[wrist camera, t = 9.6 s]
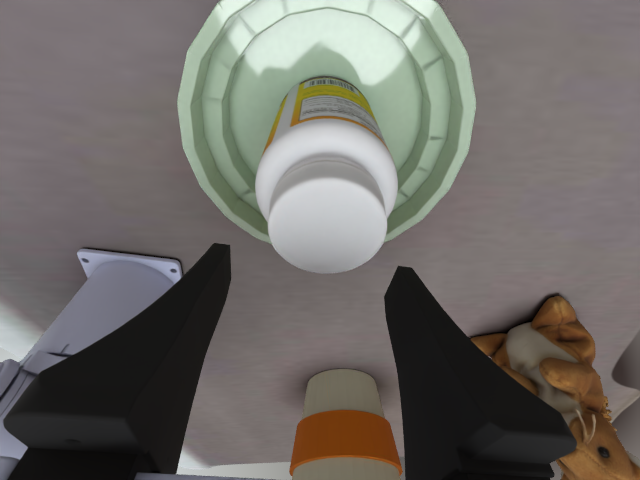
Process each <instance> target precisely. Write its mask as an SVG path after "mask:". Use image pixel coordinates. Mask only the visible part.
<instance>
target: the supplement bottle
mask: <svg viewBox="0 0 640 480" xmlns="http://www.w3.org/2000/svg"><path fill="white" fill-rule="evenodd" d="M397 191H398V177H397V172H396V168H395V164H394V161H393V158H392V156H391V154H390V151H389V149H388V147H387V145H386V143H385V140H384V138H383V136H382V133H381V131H380V128H379V126H378V124H377V122H376V119H375V117H374V115H373V112H372V110H371V108H370V105H369V103H368V101H367V99H366V98H365V97H364V95H363V94H362V93H361V92H360V91H359V89H358V88H356V87H355V86H354V85H353V84H351V83H350V82H348V81H346V80H344V79H342V78H339V77H335V76H326V75H323V76H315V77H311V78H308V79H306V80H304V81H302V82H300V83H298V84H297V85H296V86H294V87H293V88H292V89H291V90H290V91H289V92H288V93H287V95H286V96H285V97H284V99H283V101H282V102H281V104H280V107H279V109H278V112H277V115H276V118H275V121H274V123H273V126H272V129H271V132H270V135H269V137H268V140H267V143H266V146H265V149H264V151H263V154H262V157H261V160H260V162H259V166H258V169H257V174H256V181H255V192H256V198H257V203H258V205H259V208H260V210H261V212H262V214H263V216H264V218H265V219H266V221H267V222H268V234H269V237H270V240H271V243H272V245H273V247H274V248H275V250H276V251H277V252H278V253H279V255H280V256H281V257H282V258H283V259H285V260H286V261H287V262H289V263H290V264H292V265H294V266H296V267H298V268H300V269H302V270H305V271H309V272H313V273H323V274H331V273H340V272H345V271H348V270H351V269H354V268H357V267H359V266H361V265H362V264H364V263H366V262H367V261H368V260H370V259H371V258H372V257H373V256H374V255H375V254H376V253H377V252H378V250H379V249H380V248H381V246H382V244H383V242H384V240H385V236H386V233H387V218H388V217H389V215H390V213H391V211H392V209H393V207H394V204H395V201H396V197H397Z"/></svg>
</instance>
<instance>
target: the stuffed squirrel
mask: <svg viewBox="0 0 640 480" xmlns="http://www.w3.org/2000/svg"><path fill="white" fill-rule="evenodd" d="M470 340H471V341H472V342H473V343H474V344H475V345H476V346H477V347H478V348H479V349H480V350H481V351H482V352H483V353H485V354H486V355H487V356H491V358H492V361H493V362H495V363H496V364H497V365H498V366H499V367H500V368H501V369H503V370H504V371H505V372H506V373H507V374H509V375H510V376H511V377H512V378H514V379H515V380H516V381H517V382H519V383H520V384H521V385H523V386H524V387H525V388H526V389H528V390H529V391H530V392H532V393H533V394H535V395H536V396H537V397H539V398H540V399H542V400H543V401H544V402H546V403H547V404H549V405H550V406H552V407H553V408H554V409H556V410H557V411H559V412H560V413H561V414H562V416H563V418H564V419H565V421H566V423H567V425H568V427H569V428H570V430H571V432H572V434H573V436H574V437H575V439H576V441H577V446H576V448H575V450H574V451H573V452H571V453H569V454H568V455H566V456H564V457H562V458H559V459H557V460H556V462H557V463H558V465H559V466H560V468H561V480H640V460H639V459H638V458H637V457H636V456H634V455H632V454H631V453H629V452H628V451H626V450H625V449H624V447H623V446H622V444H621V442H620V441H619V439H618V437H617V435H616V432H615V430H616V429H615V428H614V427H613V426H611V425H612V424H611V423H610V422H609V421H611V420H612V419H611V417H610V416H609V415H608V414H609V413H611V412H612V411H610V410H609V409H608V410H606V407H608V400H607V397H606V396H604V395H603V389H602V384H601V381H600V379H601V378H600V376H599V375H598V374H597V373H596V371H595V369H593V368H592V362H593V360H594V358H595V343H594V340H593V338H592V336H591V335H590V334H589V333H588V331H587V330H586V329H585V328H584V327H583V326H582V324H581V323H580V322H579V321H578V320H577V318H576V315H575V311H574V309H573V307H572V306H571V305H570V304H569V303H568V302H567V301H566V300H565V299H564V298H562V297H560V296H556V297H553V298H549V299H548V300H547V301H546V302H545V303H544V304H543V306H542V307H541V309H540V310H539V312H538V313H537V315H536V316H535V318H534V319H533V322H529V323H525V324H522V325H519V326H517V327H514V328H513V329H511V330H510V331H509V332H508V333H507V334H503V333H498V334H491V335H484V336H479V337H473V338H471V339H470Z"/></svg>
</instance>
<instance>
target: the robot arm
mask: <svg viewBox="0 0 640 480" xmlns="http://www.w3.org/2000/svg"><path fill="white" fill-rule="evenodd" d="M77 256H78V258H79V260H80V262H81V264H82V267H83V269H84V271H85V273H86V275H87V277H88V280H87V281H86V282H85V283H84V285H83V286H82V287H81V288H80V290H79V291H78V292H77V293H76V294H75V296H74V297H73V298H72V299H71V301H70V302H69V303H68V304H67V306H66V307H65V308H64V309H63V311H62V312H61V313H60V314H59V315H58V317H57V318H56V319H55V320H54V322H53V323H52V324H51V325H50V327H49V328H48V329H47V330H46V332H45V333H44V334H43V335H42V336H41V338H40V339H39V340H38V341H37V343H36V344H35V345H34V346H33V348H32V349H31V350H30V351H29V353H28V354H27V355H26V356H25V357H24V359H23V360H21V361H20V362H16V361H14V360H12V359H8V360H5V361H3V362H0V480H273V479H254V478H253V479H252V478H235V477H215V476H196V475H178V474H176V472H177V468H178V463H179V458H180V454H181V450H182V445H183V441H184V436H185V432H186V428H187V424H188V420H189V416H190V411H191V407H192V403H193V400H194V396H195V392H196V388H197V384H198V380H199V376H200V373H201V369H202V365H203V362H204V358H205V355H206V352H207V349H208V346H209V344H210V341H211V339H212V336H213V333H214V331H215V328H216V325H217V323H218V320H219V317H220V315H221V312H222V309H223V307H224V304H225V301H226V298H227V294H228V290H229V286H230V281H231V261H230V245H226V244H218V243H214V244H213V245H212V246H211V247H210V248H209V249H208V250H207V252H206V253H205V254H204V255H203V256H202V257H201V258H200V259H199V261H198V262H197V263H196V264H195V265H194V266H193V267H192V268H191V269H190V270H189V271H188V272H187V273H186V274H185V275H184V276H182V270H181V265H180V263H179V262H178V261H177V260H174V259H166V258H157V257H149V256H141V255H132V254H124V253H116V252H107V251H99V250H91V249H80V250H79V251H78V252H77ZM384 300H385V313H386V321H387V325H388V330H389V335H390V339H391V344H392V349H393V353H394V358H395V362H396V367H397V373H398V380H399V389H400V397H401V408H402V419H403V434H404V450H405V477H406V480H550V478H552V477H554V472H553V470H552V468H551V466H550V464H549V463H551V462H553V461H555V460H557V459H559V458H562V457H564V456H566V455H568V454H569V453H571V452H573V451H574V450H575V448H576V446H577V441H576V439H575V437H574V436H573V434H572V432H571V430H570V428H569V427H568V425H567V423H566V421H565V419H564V418H563V416H562V414H561V413H560V412H559V411H557V410H556V409H554V408H553V407H552V406H550V405H549V404H547V403H546V402H544V401H543V400H542V399H540V398H539V397H537V396H536V395H535V394H533V393H532V392H530V391H529V390H528V389H526V388H525V387H524V386H523V385H521V384H520V383H519V382H517V381H516V380H515V379H514V378H512V377H511V376H510V375H509V374H507V373H506V372H505V371H504V370H503V369H501V368H500V367H499V366H498V365H497V364H496V363H495V362H493V361H492V360H491V359H490V358H489V357H488V356H487V355H486V354H485V353H483V352H482V351H481V350H480V349H479V348H478V347H477V346H476V345H475V344H474V343H473V342H472V341H471V340H470V339H469V338H468V337H467V336H466V335H465V334H464V333H463V331H462V330H461V329H460V328H459V327H458V326H457V325H456V324H455V323H454V321H453V320H452V319H451V318H450V317H449V316H448V314H447V313H446V312H445V311H444V310H443V308H442V307H441V306H440V305H439V303H438V302H437V301H436V299H435V298H434V297H433V296H432V294H431V293H430V292H429V290H428V289H427V288H426V286H425V285H424V284H423V282H422V281H421V279H420V278H419V277H418V275H417V274H416V273H415V271H414V270H413V269H412V268H410V267H402V266H398V267H397V270H396V272H395V274H394V276H393V278H392V281H391V283H390V285H389V287H388V289H387V292H386V294H385V296H384Z"/></svg>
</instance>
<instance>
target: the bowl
mask: <svg viewBox="0 0 640 480" xmlns="http://www.w3.org/2000/svg"><path fill="white" fill-rule="evenodd" d="M323 75H326V76H335V77H339V78H342V79H344V80H346V81H348V82H350V83H351V84H353V85H354V86H355V87H356V88H358V89H359V91H360V92H361V93H362V94H363V95H364V97H365V98H366V99H367V101H368V103H369V105H370V108H371V110H372V112H373V115H374V117H375V119H376V122H377V124H378V126H379V128H380V131H381V133H382V136H383V138H384V140H385V143H386V145H387V147H388V149H389V151H390V154H391V156H392V158H393V161H394V164H395V168H396V172H397V177H398V191H397V197H396V201H395V204H394V207H393V209H392V211H391V213H390V215H389V217H388V218H387V233H386V236H385V240H384V242H387V241H390V240H391V239H394V238H395V237H397V236H398V235H400V234H401V233H403V232H404V231H406V230H407V229H409V228H410V227H412V226H413V225H415V224H416V223H418V222H419V221H421V220H422V219H423V218H424V217H425V216H426V215H427V214H428V213H429V212H430V211H431V210H432V209H433V207H434V206H435V205H436V204H437V203H438V202H439V201H440V200H441V199H442V197H443V196H444V195H445V194H446V193H447V192H448V191H449V189H450V188H451V186H452V184H453V182H454V180H455V178H456V176H457V174H458V171H459V169H460V167H461V165H462V163H463V161H464V159H465V157H466V155H467V153H468V150H469V146H470V140H471V134H472V128H473V122H474V116H475V110H476V99H475V93H474V87H473V81H472V75H471V69H470V63H469V57H468V54H467V50H466V49H465V47H464V45H463V44H462V42H461V40H460V38H459V37H458V35H457V33H456V32H455V30H454V28H453V27H452V25H451V23H450V21H449V20H448V18H447V16H446V15H445V13H444V11H443V9H442V8H441V6H440V5H439V4H438V3H437V2H436V1H435V0H220V1H219V3H217V4H216V6H215V7H214V9H213V11H212V12H211V14H210V15H209V17H208V19H207V20H206V22H205V23H204V25H203V26H202V28H201V30H200V31H199V33H198V34H197V36H196V38H195V39H194V41H193V42H192V44H191V46H190V47H189V49H188V51H187V55H186V60H185V65H184V69H183V74H182V79H181V84H180V89H179V94H178V99H177V101H178V102H177V106H178V114H179V122H180V130H181V138H182V146H183V150H184V152H185V154H186V156H187V158H188V161H189V163H190V165H191V167H192V169H193V172H194V174H195V176H196V178H197V180H198V183H199V185H200V187H201V188H202V189H203V191H204V192H205V193H206V194H207V195H208V197H209V198H210V199H211V200H212V201H213V202H214V204H215V205H216V206H217V207H218V208H219V210H220V211H221V212H222V213H223V214H224V215H225V217H227V218H228V219H229V220H231V221H232V222H234V223H235V224H236V225H238V226H239V227H241V228H242V229H244V230H245V231H246V232H248V233H249V234H251V235H252V236H254V237H255V238H257V239H259V240H262V241H264V242H267V243H270V244H272V243H271V240H270V237H269V234H268V222H267V221H266V219H265V218H264V216H263V214H262V212H261V210H260V208H259V205H258V203H257V198H256V192H255V181H256V174H257V169H258V166H259V162H260V160H261V157H262V154H263V151H264V149H265V146H266V143H267V140H268V137H269V135H270V132H271V129H272V126H273V123H274V121H275V118H276V115H277V112H278V109H279V107H280V104H281V102H282V101H283V99H284V97H285V96H286V95H287V93H288V92H289V91H290V90H291V89H292V88H293V87H294V86H296V85H297V84H298V83H300V82H302V81H304V80H306V79H308V78H311V77H315V76H323ZM384 242H383V243H384Z"/></svg>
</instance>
